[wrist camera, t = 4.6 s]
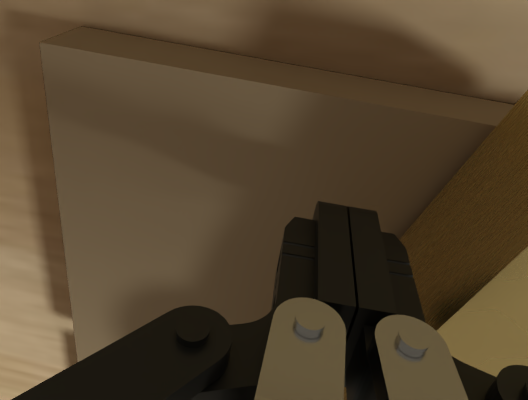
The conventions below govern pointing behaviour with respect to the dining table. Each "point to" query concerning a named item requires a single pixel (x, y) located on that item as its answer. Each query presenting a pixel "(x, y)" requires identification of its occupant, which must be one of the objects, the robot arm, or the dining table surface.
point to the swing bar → (479, 252)
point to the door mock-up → (224, 169)
